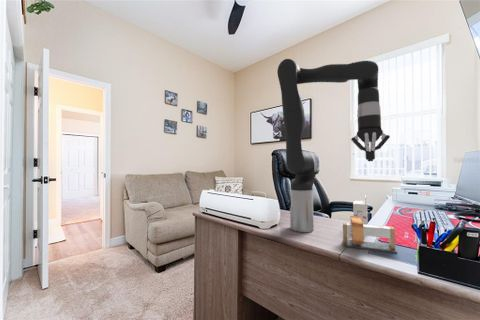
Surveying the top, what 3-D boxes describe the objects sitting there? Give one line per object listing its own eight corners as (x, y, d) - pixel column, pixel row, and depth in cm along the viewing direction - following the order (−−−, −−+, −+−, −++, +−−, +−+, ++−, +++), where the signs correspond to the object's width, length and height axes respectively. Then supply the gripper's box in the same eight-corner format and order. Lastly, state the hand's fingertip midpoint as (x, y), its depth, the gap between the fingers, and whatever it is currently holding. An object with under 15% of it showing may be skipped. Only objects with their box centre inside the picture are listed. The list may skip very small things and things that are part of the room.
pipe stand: (343, 246, 71) (342, 225, 72) (342, 240, 77) (342, 221, 77) (397, 253, 65) (396, 230, 65) (392, 246, 71) (391, 225, 71)
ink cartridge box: (354, 226, 94) (353, 193, 95) (367, 228, 92) (366, 194, 92) (353, 231, 87) (352, 196, 87) (367, 233, 84) (366, 196, 85)
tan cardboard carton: (353, 243, 68) (352, 222, 68) (351, 233, 78) (350, 215, 78) (363, 244, 67) (363, 223, 67) (360, 234, 76) (359, 216, 77)
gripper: (349, 115, 79) (351, 161, 79) (392, 111, 74) (394, 160, 74) (348, 119, 86) (350, 161, 86) (387, 116, 81) (389, 160, 80)
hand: (370, 161), depth 80 cm, fingers closed
